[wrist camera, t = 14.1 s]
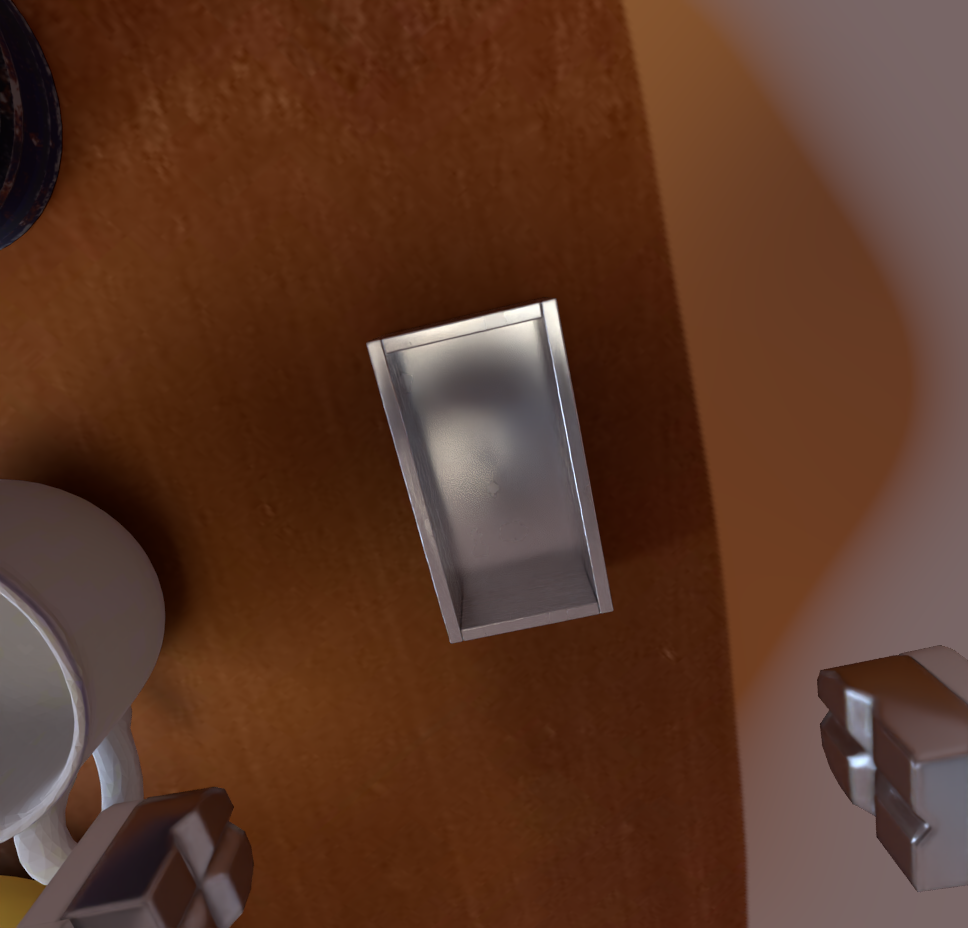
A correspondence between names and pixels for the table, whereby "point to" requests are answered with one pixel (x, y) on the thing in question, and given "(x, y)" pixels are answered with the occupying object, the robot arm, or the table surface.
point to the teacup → (68, 662)
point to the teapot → (17, 899)
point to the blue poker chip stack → (25, 127)
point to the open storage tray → (495, 468)
